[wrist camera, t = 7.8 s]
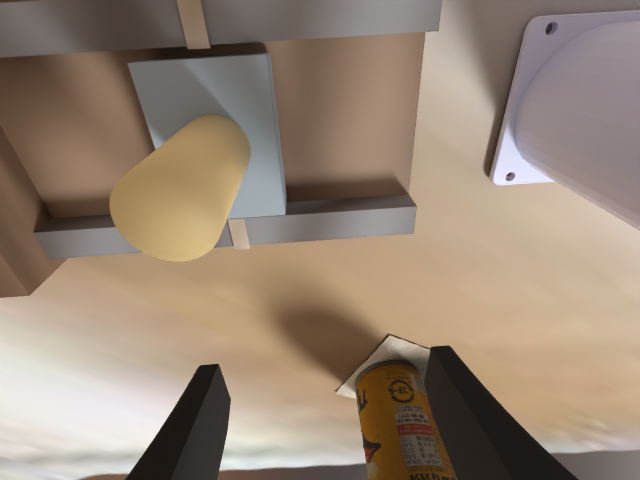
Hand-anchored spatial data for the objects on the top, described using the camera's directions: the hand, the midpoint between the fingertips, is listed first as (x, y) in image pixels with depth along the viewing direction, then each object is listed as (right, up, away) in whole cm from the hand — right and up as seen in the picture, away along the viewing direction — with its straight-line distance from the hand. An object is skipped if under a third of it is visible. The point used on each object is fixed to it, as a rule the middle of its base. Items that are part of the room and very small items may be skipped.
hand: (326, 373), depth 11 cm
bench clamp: (-7, +10, +5) cm, 13 cm away
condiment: (+6, -7, +18) cm, 20 cm away
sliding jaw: (-5, +9, +4) cm, 11 cm away
